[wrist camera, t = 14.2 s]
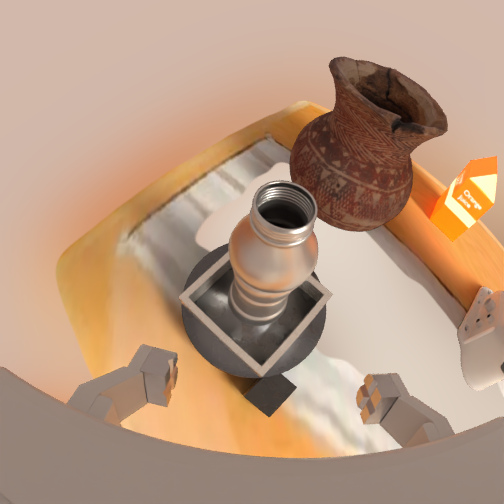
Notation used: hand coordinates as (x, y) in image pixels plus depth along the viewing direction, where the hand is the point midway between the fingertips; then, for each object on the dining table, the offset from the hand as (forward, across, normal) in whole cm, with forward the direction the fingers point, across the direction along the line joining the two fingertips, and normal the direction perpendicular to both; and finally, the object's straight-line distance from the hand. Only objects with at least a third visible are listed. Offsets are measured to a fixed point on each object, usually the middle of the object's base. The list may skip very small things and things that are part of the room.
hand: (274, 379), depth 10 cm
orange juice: (+43, -41, -6) cm, 59 cm away
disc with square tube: (+25, 0, +12) cm, 27 cm away
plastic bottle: (+21, 0, +8) cm, 23 cm away
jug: (+42, -13, -5) cm, 44 cm away
